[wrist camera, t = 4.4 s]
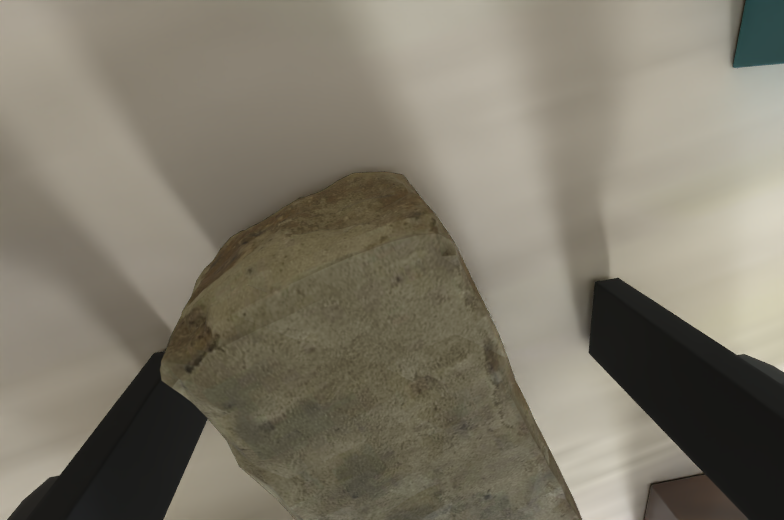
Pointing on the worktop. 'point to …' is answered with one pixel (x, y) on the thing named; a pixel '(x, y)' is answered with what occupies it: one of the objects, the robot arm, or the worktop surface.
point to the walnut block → (690, 501)
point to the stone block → (362, 366)
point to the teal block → (761, 34)
